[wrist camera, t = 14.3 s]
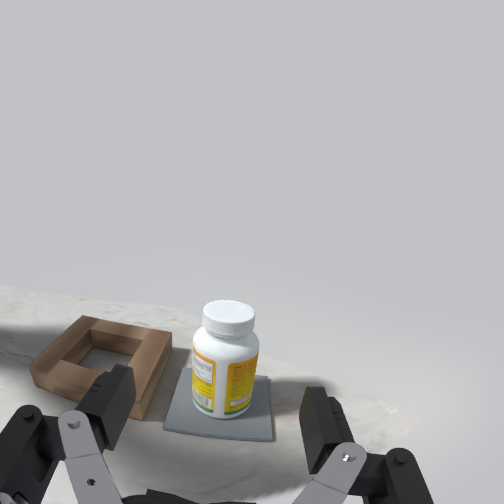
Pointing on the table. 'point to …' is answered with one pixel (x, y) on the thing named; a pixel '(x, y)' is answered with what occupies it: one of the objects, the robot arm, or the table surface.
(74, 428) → the robot arm
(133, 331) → the socket block
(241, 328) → the supplement bottle
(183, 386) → the rubber mat
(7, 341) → the table surface
